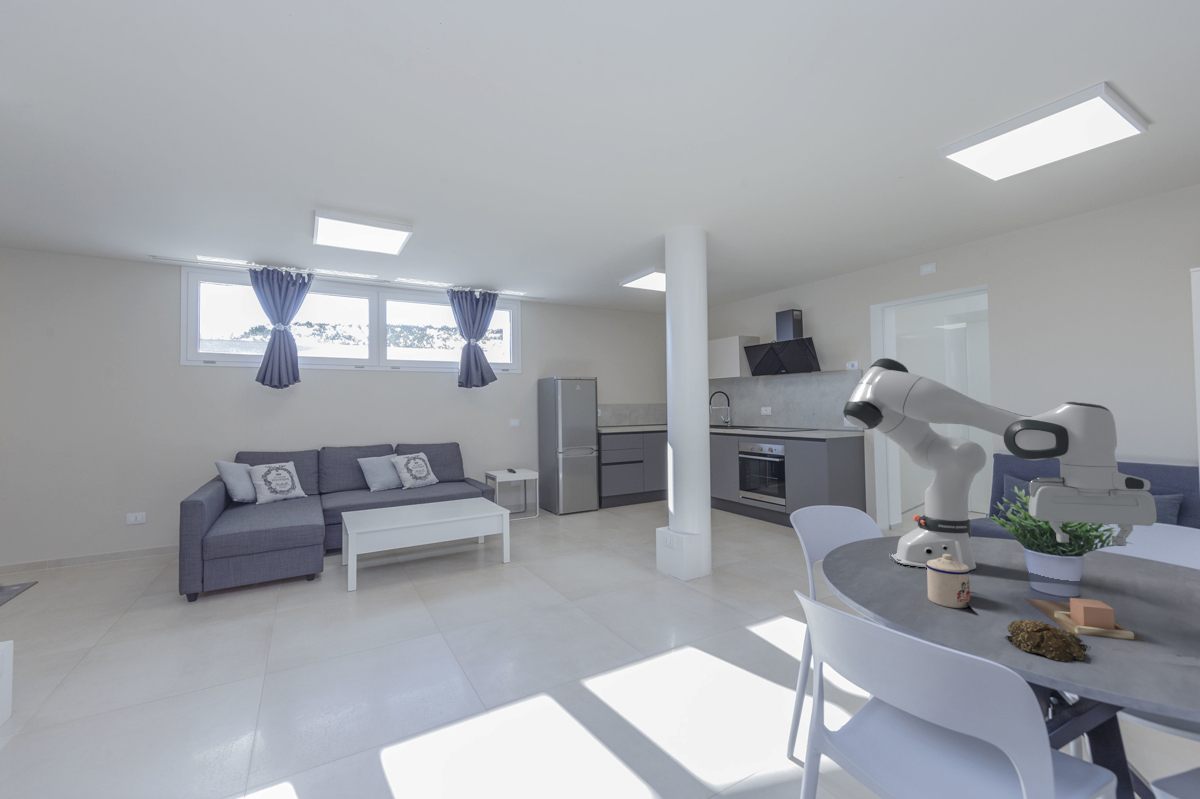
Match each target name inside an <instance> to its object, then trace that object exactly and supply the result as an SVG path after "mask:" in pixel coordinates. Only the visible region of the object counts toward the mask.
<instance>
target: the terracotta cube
mask: <svg viewBox="0 0 1200 799" xmlns="http://www.w3.org/2000/svg"><path fill="white" fill-rule="evenodd" d="M1069 603H1070V618H1071V619H1072V620H1073V621H1074V622H1076V623H1077V624H1079V625H1080V626H1085V627H1095V628H1105V629H1114V630H1115V627H1114V621H1115V608H1113V607H1111V606H1110V605H1108V604H1106V603H1104V602H1103V601H1101V600H1099V599H1089V598H1078V597H1069Z"/></svg>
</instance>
